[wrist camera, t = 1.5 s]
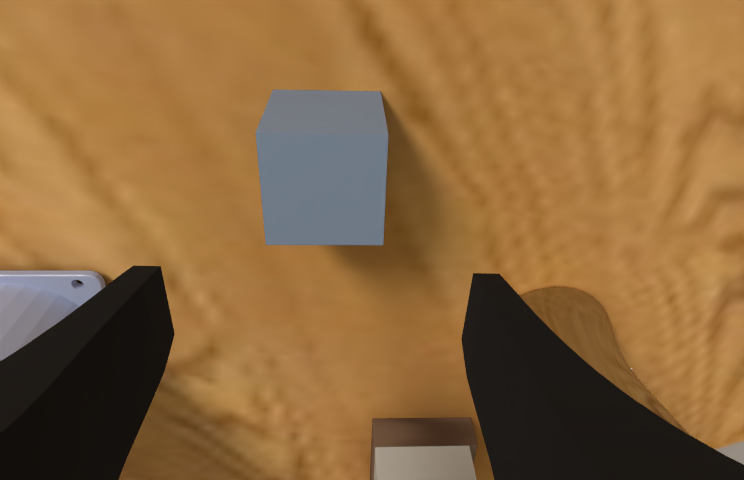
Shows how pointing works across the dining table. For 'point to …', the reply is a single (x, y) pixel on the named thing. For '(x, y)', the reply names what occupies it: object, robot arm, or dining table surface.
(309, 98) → the blue block
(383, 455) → the mid slab
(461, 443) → the base slab
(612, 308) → the dining table surface
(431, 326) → the dining table surface
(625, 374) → the beer glass
